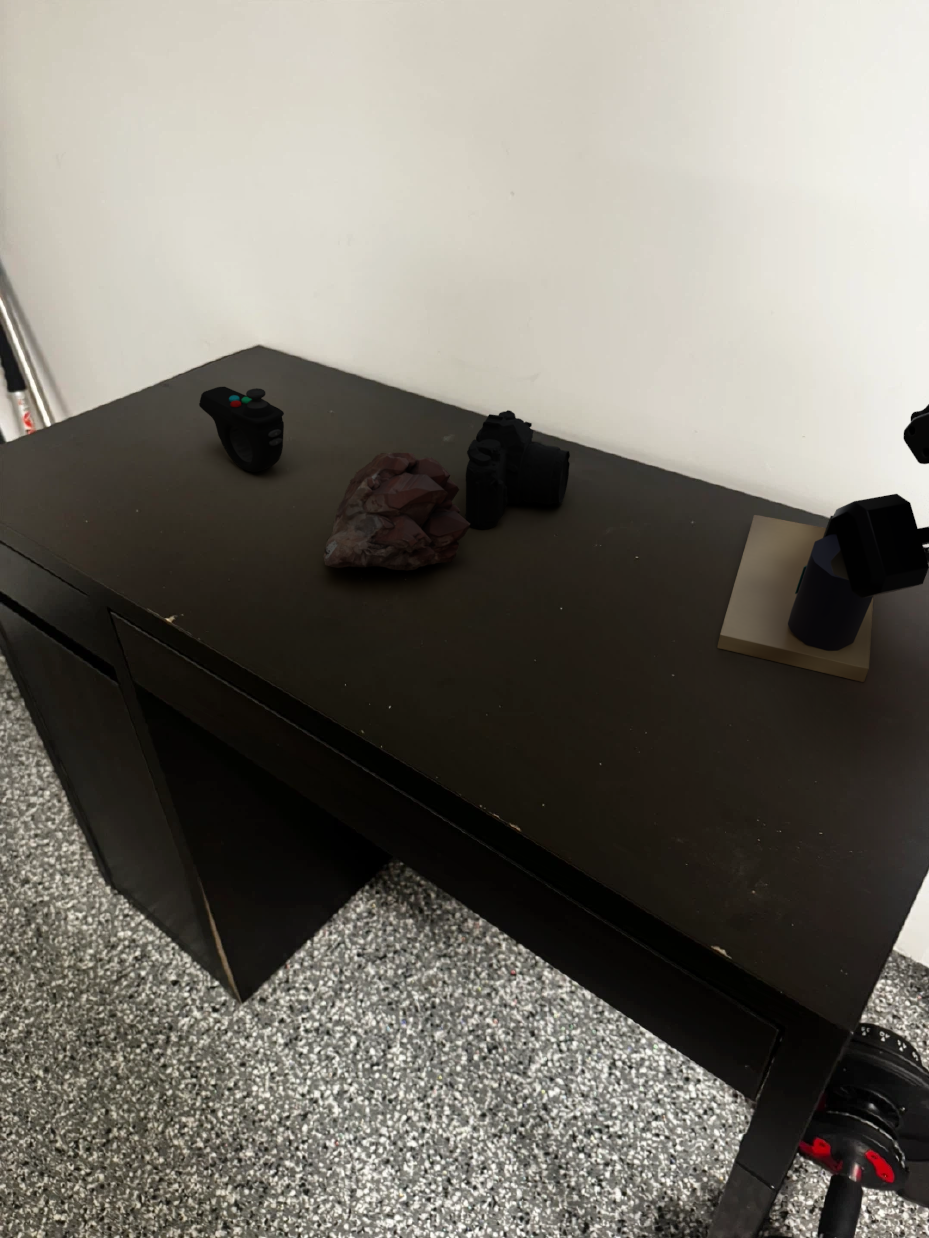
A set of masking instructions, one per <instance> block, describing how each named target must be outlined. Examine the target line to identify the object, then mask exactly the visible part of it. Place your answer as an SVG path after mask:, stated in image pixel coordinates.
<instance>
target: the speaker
mask: <svg viewBox="0 0 929 1238" xmlns="http://www.w3.org/2000/svg"><path fill="white" fill-rule="evenodd" d="M832 517H833V515H830V516H829V519H828V522H827V525H826V527H825V528H826V530H825V533H824V536H823V538H822V539H819V540H817V541H815V543H814V546H813V548H812V551H811V554H810V557H809V560H808V563H807V565H806V566H804V568H803V571H802V574H801V577H800V580H799V583H798V586H797V589H796V592H795V594H797V595H796V598H795V601H794V604H793V607H792V610H791V613H790V617H789V621H788V626H789V628H790V630H791V632H792V633H793V634H795V635H796V636H797V637H798V638H799V639H800V640H801V641H803V642H804V643H805V644H806V645H809V646H813V647H816V648H819V649H823V650H826V651H838V650H840V649H842V648H844V647H846V646H848V645H850V644H852V643H853V642H854V640H855V638H856V635H857V633H858V631H859V628H860V626H861V624H862V621H863V619H864V617H865V614H866V612H867V610H868V607H869V605H870V603H871V600H872V598H873V599H874V596H870V597H865V598H860V597H859V596H858V595H856V594H855V593H853V592H852V589H851V586H850V582H849V580H847V579H844V578H842V577H839V576H837V575H835V574H834V573H833V570H832V567H831V560H832V559H833V557H834V556H835V555H836V554H837V553H838V552H839V551H840V546H839V542H838V539H837V535H836V532H835V528H834V524H833V521H832Z"/></svg>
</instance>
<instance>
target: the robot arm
mask: <svg viewBox="0 0 929 1238" xmlns="http://www.w3.org/2000/svg"><path fill="white" fill-rule="evenodd" d="M903 441H904V443H905V444H906V446H907V447H908V449H909V450H910V453H912V455H913V457H914V458H915V460H916V461H917V463H919V464H920V465H929V403H928V404H927V405H926V407H925V408H923V409H921V410H917V411H913V412H912V413H911V415H910V422H909V424H908V425H907V426H906V427H905V428H904V430H903ZM832 516H833V517H832V521H833V524H834V528H835V532H836V535H837V539H838V542H839V546H840V551H839V552H838V553H837V554H836V555H835V556H834V557H833V559H832V560H831V567H832V570H833V573H834V574H835V575H837V576H839V577H842V578H844V579H847V580H849V582H850V586H851V589H852V592H853V593H855V594H856V595H858V596H859V597H860V598H865V597H870V596H873V597H875V596H880V595H883V594H884V595H885V594H888V593H894V592H898V591H901V590H905V589H910V588H913V587H917V586H921V585H923V584H924V582H925V579H926V576H927V574H928V572H929V546H927V547H924V546H925V545H929V526H924V527H918V525H917V521H916V518H915V514H914V511H913V506H912V504H911V502H910V501H909V500H907V499H906V498H904V497H903V496H901V495H900V494H898V493H893V494H888V495H886V494H885V495H882V496H876V497H871V498H865V499H858V500H854V501H852V502H849V503H847V504H845V505H842V506H840V507H838V508H836V510H835V511H834V514H833V515H832Z"/></svg>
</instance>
